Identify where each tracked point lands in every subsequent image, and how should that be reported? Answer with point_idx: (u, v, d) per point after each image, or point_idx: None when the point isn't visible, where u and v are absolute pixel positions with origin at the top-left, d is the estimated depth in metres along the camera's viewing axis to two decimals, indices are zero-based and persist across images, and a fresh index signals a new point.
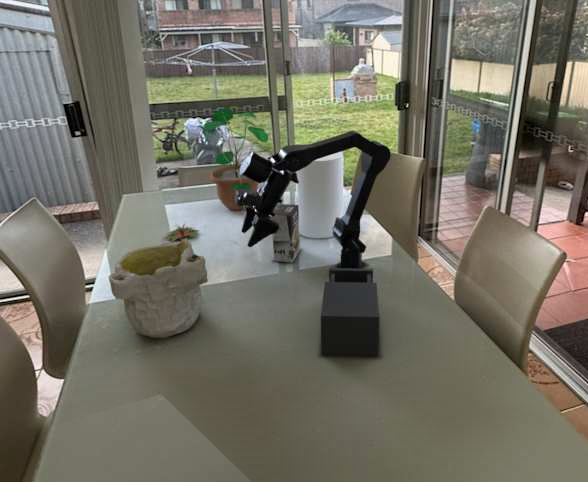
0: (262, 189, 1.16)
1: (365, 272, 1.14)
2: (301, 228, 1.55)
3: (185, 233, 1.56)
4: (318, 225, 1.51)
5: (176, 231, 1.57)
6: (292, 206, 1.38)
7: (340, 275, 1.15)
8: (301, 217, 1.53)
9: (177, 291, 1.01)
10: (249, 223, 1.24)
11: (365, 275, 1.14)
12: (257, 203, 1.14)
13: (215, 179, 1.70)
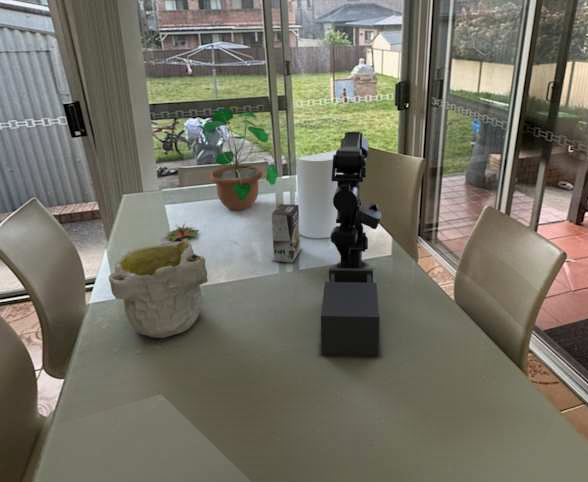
0: (359, 202, 1.13)
1: (365, 272, 1.14)
2: (301, 228, 1.55)
3: (185, 233, 1.56)
4: (318, 225, 1.51)
5: (176, 231, 1.57)
6: (292, 206, 1.38)
7: (340, 275, 1.15)
8: (301, 217, 1.53)
9: (177, 290, 1.01)
10: None
11: (365, 275, 1.14)
12: None
13: (215, 179, 1.70)
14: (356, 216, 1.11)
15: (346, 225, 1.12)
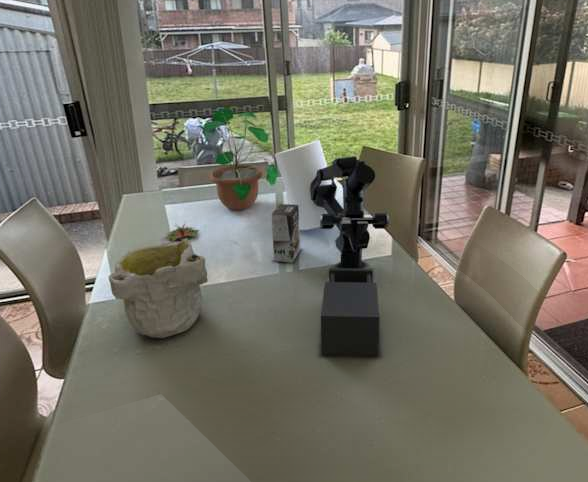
0: None
1: (365, 272, 1.14)
2: None
3: (185, 233, 1.56)
4: (312, 214, 1.51)
5: (176, 231, 1.57)
6: (292, 206, 1.38)
7: (340, 275, 1.15)
8: None
9: (177, 290, 1.01)
10: (355, 239, 1.19)
11: (365, 275, 1.14)
12: None
13: (215, 179, 1.70)
14: None
15: None
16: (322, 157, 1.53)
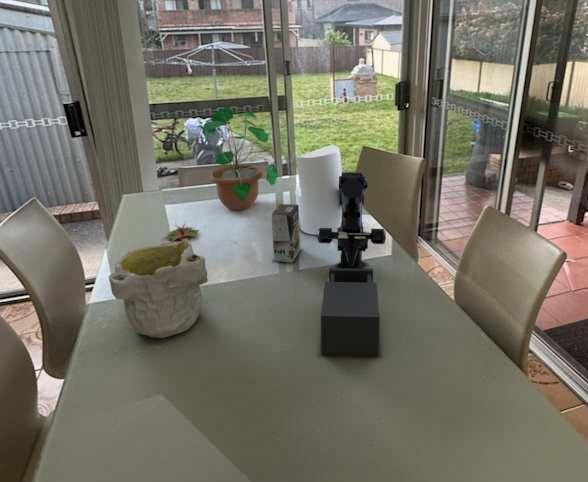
0: None
1: (365, 272, 1.14)
2: (308, 227, 1.55)
3: (185, 233, 1.56)
4: (326, 220, 1.52)
5: (176, 231, 1.57)
6: (292, 206, 1.38)
7: (340, 275, 1.15)
8: (307, 215, 1.53)
9: (177, 290, 1.01)
10: None
11: (365, 275, 1.14)
12: None
13: (215, 179, 1.70)
14: None
15: None
16: (340, 165, 1.53)
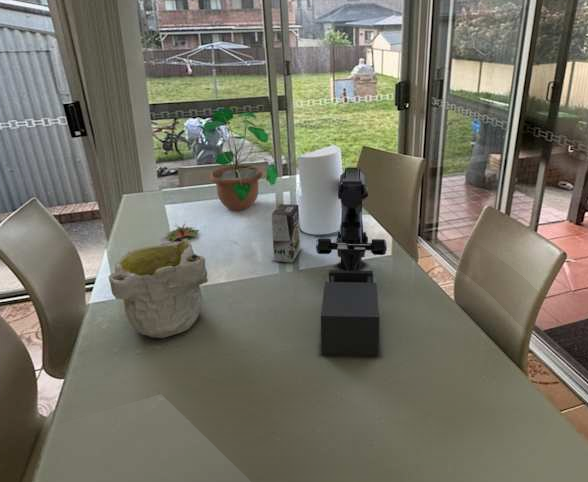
0: None
1: (365, 274, 1.13)
2: (307, 227, 1.55)
3: (185, 233, 1.56)
4: (325, 220, 1.52)
5: (176, 231, 1.57)
6: (292, 206, 1.38)
7: (340, 277, 1.14)
8: (307, 215, 1.53)
9: (177, 290, 1.01)
10: None
11: (365, 277, 1.13)
12: None
13: (215, 179, 1.70)
14: None
15: None
16: (341, 165, 1.53)
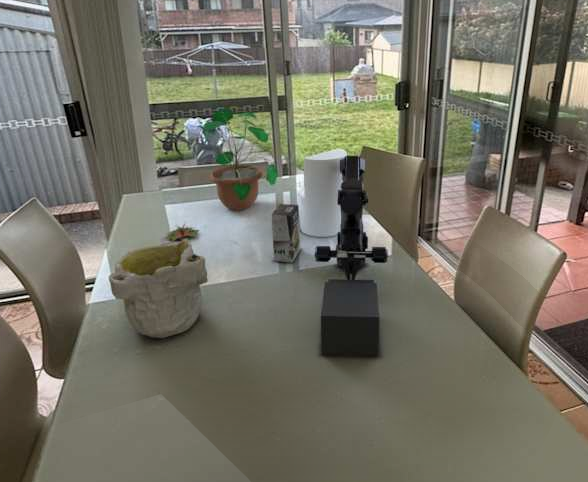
0: None
1: None
2: (308, 228, 1.55)
3: (185, 233, 1.56)
4: (326, 223, 1.52)
5: (176, 231, 1.57)
6: (292, 206, 1.38)
7: None
8: (308, 217, 1.53)
9: (177, 290, 1.01)
10: None
11: None
12: None
13: (215, 179, 1.70)
14: None
15: None
16: None
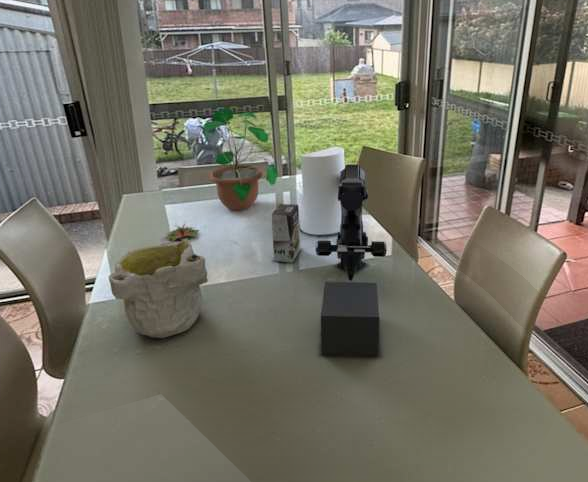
0: None
1: None
2: (307, 227, 1.55)
3: (185, 233, 1.56)
4: (326, 220, 1.52)
5: (176, 231, 1.57)
6: (292, 206, 1.38)
7: None
8: (308, 215, 1.53)
9: (177, 290, 1.01)
10: None
11: None
12: None
13: (215, 179, 1.70)
14: None
15: None
16: (344, 166, 1.54)
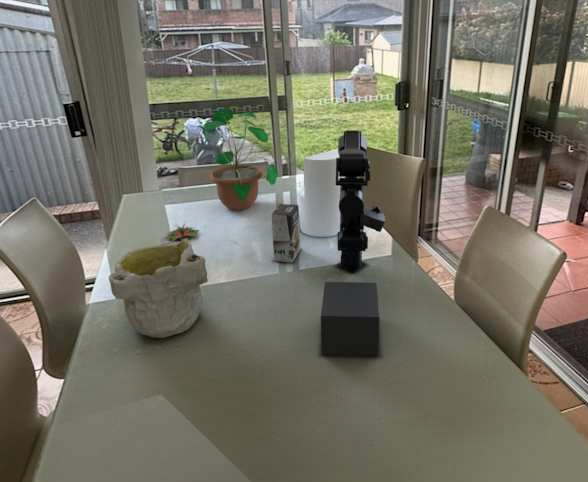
0: None
1: None
2: (308, 228, 1.55)
3: (185, 233, 1.56)
4: (326, 223, 1.52)
5: (176, 231, 1.57)
6: (292, 206, 1.38)
7: None
8: (308, 217, 1.53)
9: (177, 290, 1.01)
10: None
11: None
12: None
13: (215, 179, 1.70)
14: (361, 220, 1.09)
15: (351, 229, 1.09)
16: None
